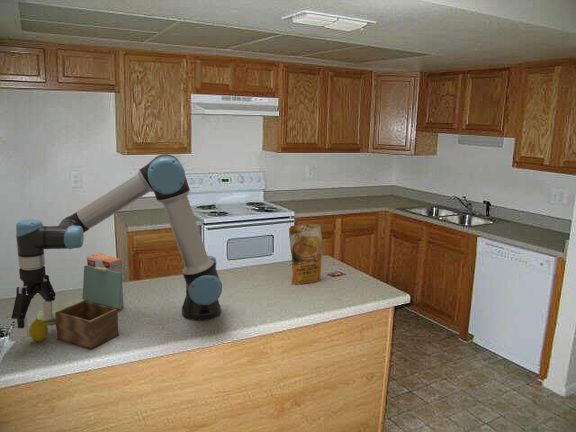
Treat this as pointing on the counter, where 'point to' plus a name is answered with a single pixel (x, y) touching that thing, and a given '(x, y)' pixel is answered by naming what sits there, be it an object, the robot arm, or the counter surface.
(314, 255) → the pancake mix bag
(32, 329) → the lemon
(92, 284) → the lid
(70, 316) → the box
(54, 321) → the washcloth
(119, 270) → the cracker box
